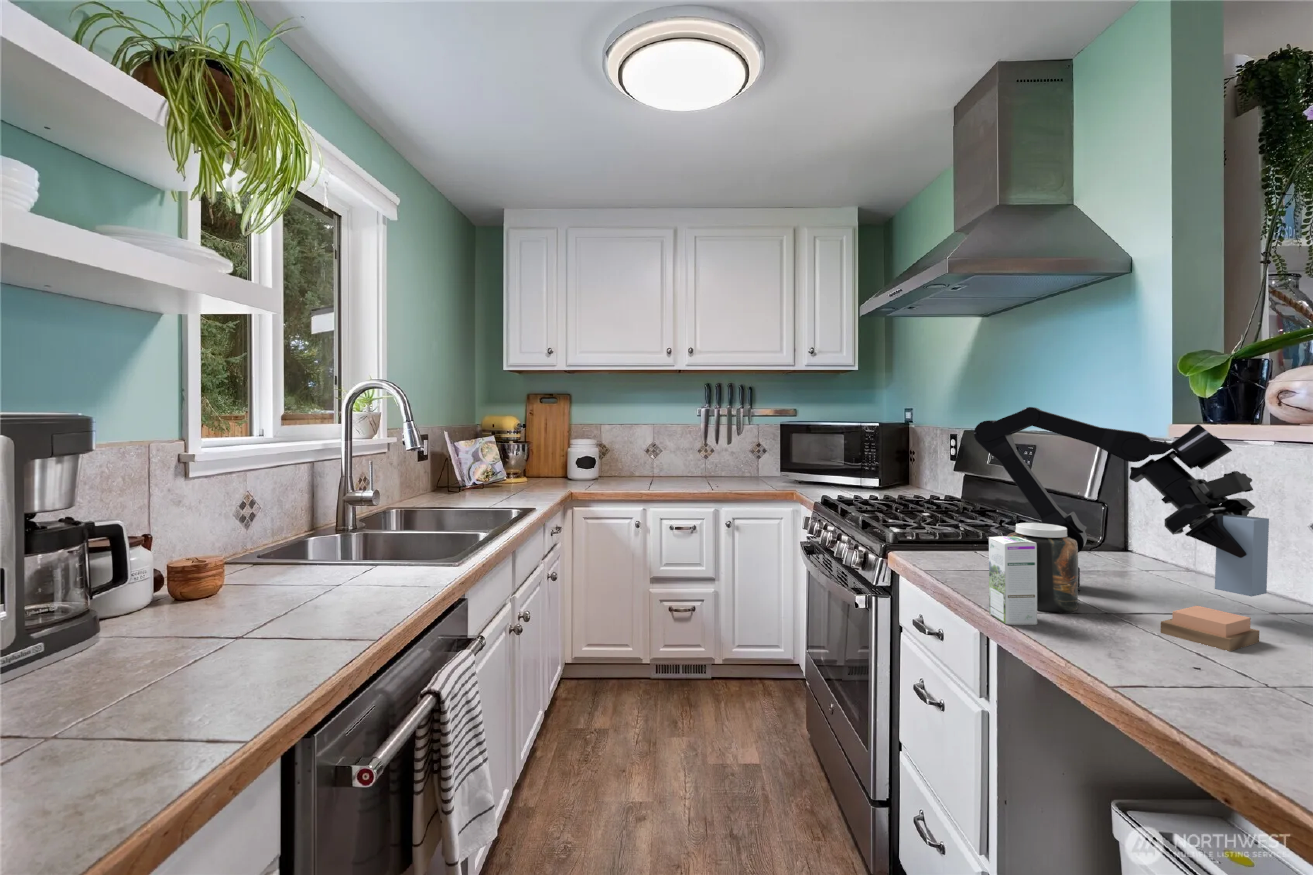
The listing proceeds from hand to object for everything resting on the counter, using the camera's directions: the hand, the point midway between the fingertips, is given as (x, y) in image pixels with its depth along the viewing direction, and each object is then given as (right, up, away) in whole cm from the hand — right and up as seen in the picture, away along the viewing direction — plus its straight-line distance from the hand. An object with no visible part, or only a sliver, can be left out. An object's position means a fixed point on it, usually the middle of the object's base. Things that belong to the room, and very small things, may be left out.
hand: (1251, 554), depth 104 cm
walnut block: (-13, -13, -6) cm, 19 cm away
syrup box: (-39, -12, +3) cm, 42 cm away
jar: (-28, -12, +13) cm, 34 cm away
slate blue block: (-1, -7, +1) cm, 7 cm away
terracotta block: (-13, -10, -7) cm, 18 cm away
